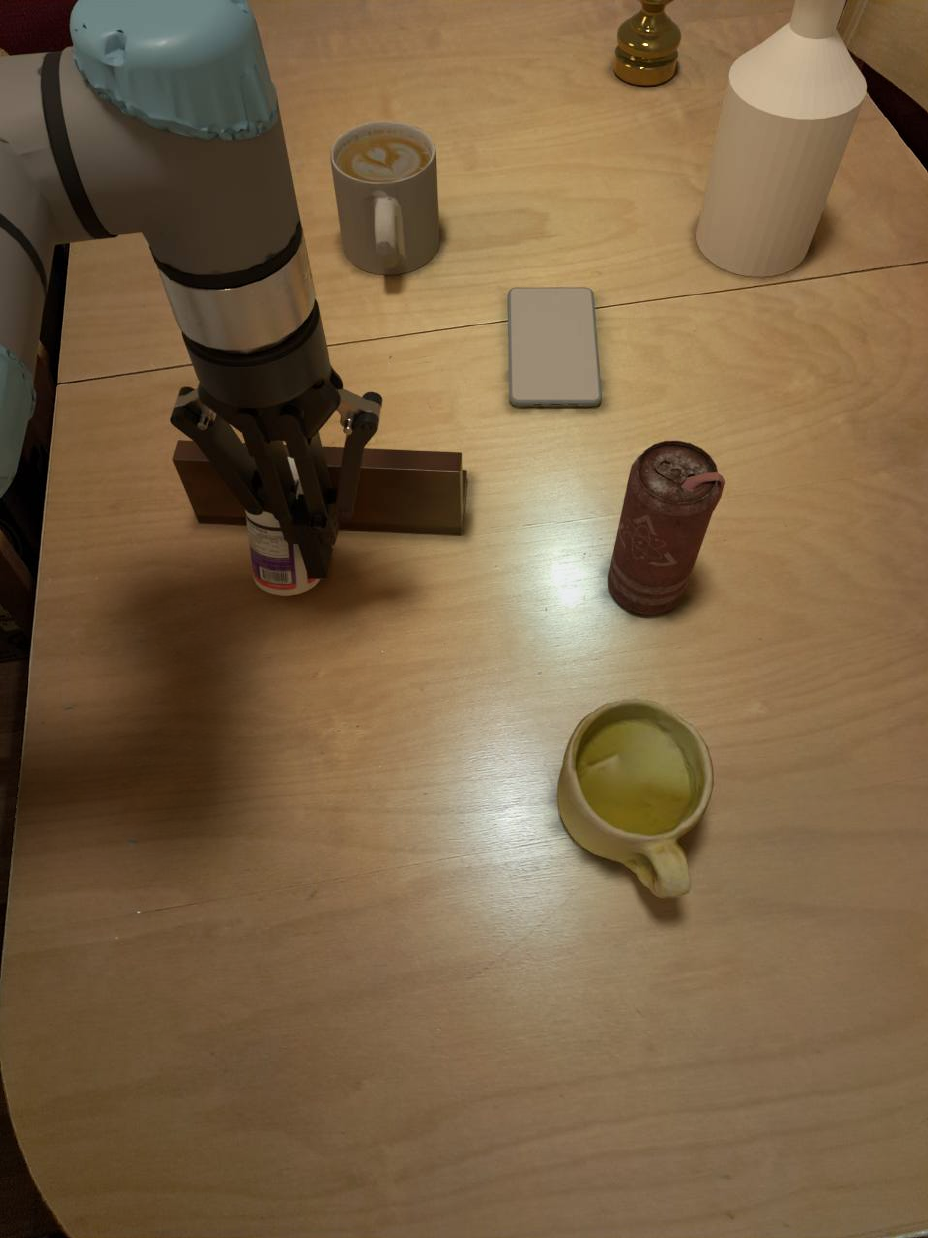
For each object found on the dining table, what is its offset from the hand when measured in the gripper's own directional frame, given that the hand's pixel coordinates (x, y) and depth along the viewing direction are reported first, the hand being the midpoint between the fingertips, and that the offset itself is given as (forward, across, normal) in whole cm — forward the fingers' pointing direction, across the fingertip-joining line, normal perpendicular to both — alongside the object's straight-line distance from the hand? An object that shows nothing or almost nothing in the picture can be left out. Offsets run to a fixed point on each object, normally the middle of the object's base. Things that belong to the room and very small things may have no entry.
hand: (320, 563), depth 70 cm
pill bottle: (+4, +3, -1) cm, 5 cm away
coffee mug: (+4, 0, -42) cm, 42 cm away
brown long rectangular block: (+4, +1, -10) cm, 11 cm away
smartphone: (+5, -17, -29) cm, 34 cm away
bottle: (+5, -36, -46) cm, 59 cm away
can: (+5, -25, -3) cm, 26 cm away
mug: (+6, -23, +17) cm, 29 cm away
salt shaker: (+5, -26, -77) cm, 81 cm away
